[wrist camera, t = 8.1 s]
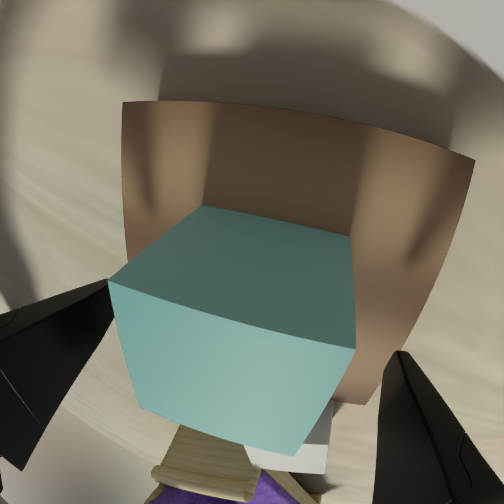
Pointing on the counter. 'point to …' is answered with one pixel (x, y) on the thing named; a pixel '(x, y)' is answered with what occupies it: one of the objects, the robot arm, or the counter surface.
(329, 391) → the teal block
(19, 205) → the counter surface
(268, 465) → the grey cube
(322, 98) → the counter surface
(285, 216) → the base block
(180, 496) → the toy sofa
